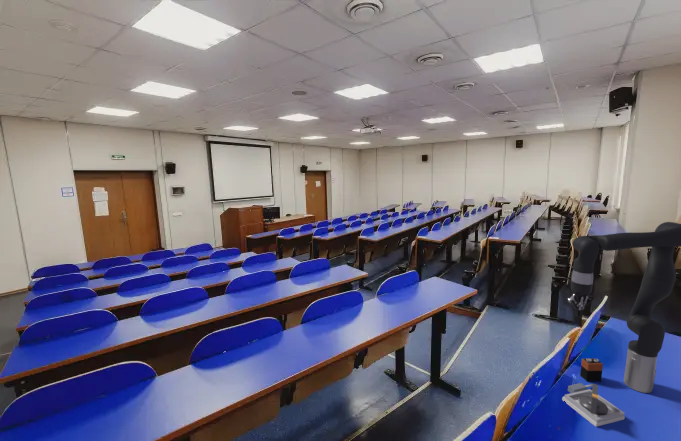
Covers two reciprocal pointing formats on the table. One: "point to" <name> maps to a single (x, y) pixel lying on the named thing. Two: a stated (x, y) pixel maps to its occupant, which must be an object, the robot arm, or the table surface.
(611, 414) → the panel
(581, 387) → the screwdriver
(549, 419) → the table surface
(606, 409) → the dial
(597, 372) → the battery
